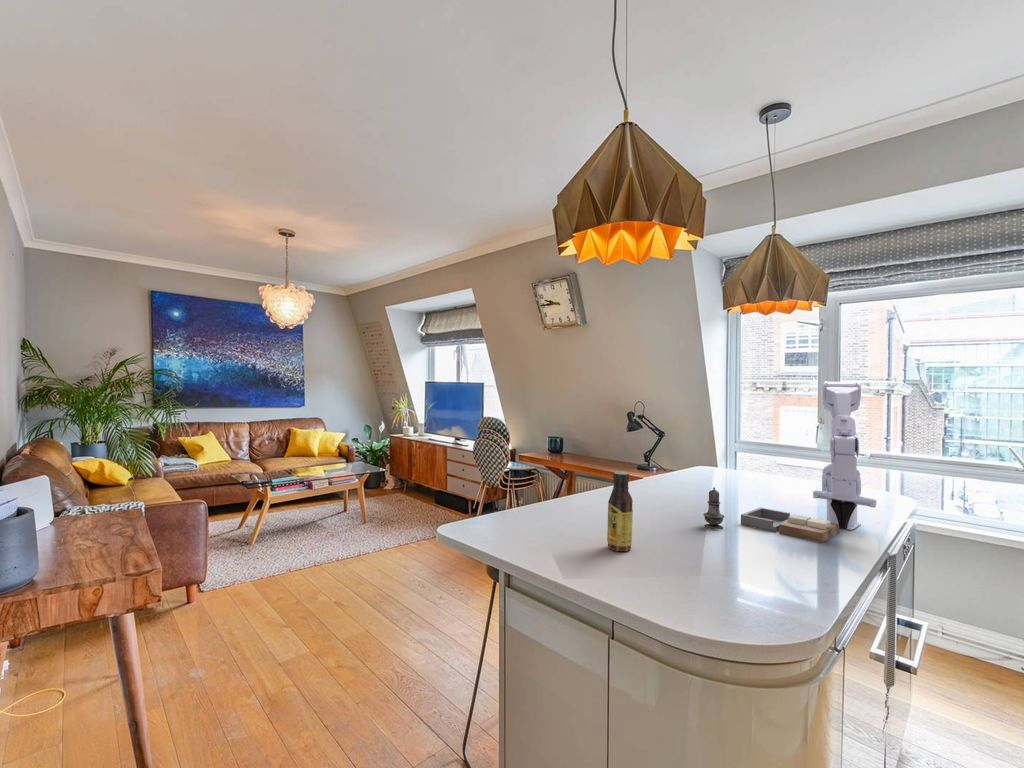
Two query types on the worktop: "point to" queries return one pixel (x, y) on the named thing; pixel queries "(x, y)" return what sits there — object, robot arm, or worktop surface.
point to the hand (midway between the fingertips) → (843, 528)
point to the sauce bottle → (620, 514)
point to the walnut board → (808, 531)
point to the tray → (764, 519)
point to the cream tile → (818, 523)
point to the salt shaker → (713, 511)
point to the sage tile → (798, 519)
